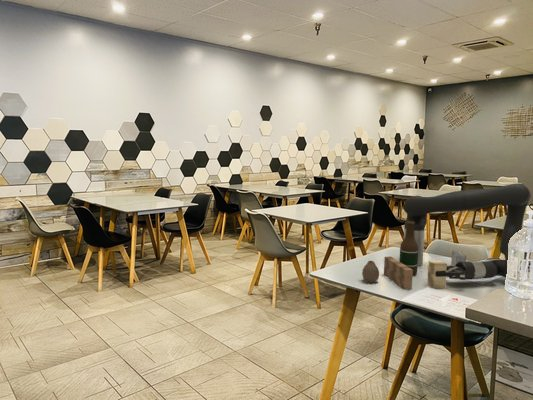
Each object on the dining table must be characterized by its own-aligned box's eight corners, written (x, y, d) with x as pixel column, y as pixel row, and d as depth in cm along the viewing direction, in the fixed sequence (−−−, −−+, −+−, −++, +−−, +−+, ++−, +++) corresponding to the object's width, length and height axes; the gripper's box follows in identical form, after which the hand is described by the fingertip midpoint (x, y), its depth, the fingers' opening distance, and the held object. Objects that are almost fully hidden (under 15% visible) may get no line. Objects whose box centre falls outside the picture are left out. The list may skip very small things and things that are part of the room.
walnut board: (383, 273, 183) (384, 256, 182) (390, 273, 183) (390, 256, 182) (404, 289, 163) (405, 270, 162) (411, 289, 163) (412, 269, 162)
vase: (375, 285, 168) (376, 264, 167) (359, 282, 171) (360, 262, 170) (380, 280, 174) (381, 260, 172) (365, 277, 177) (365, 258, 176)
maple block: (427, 284, 170) (428, 260, 168) (438, 283, 170) (439, 260, 169) (433, 288, 165) (435, 264, 163) (445, 287, 165) (446, 263, 164)
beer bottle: (417, 272, 185) (420, 220, 182) (416, 277, 178) (419, 223, 175) (399, 270, 188) (402, 219, 185) (397, 275, 181) (400, 222, 178)
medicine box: (465, 274, 183) (466, 255, 182) (454, 273, 184) (456, 254, 183) (460, 268, 191) (462, 251, 190) (450, 268, 192) (451, 250, 191)
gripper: (460, 256, 175) (423, 258, 173) (482, 266, 161) (442, 268, 159) (459, 273, 176) (422, 275, 174) (481, 284, 162) (441, 286, 160)
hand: (432, 271), depth 166 cm, fingers closed on maple block, 5 cm apart
